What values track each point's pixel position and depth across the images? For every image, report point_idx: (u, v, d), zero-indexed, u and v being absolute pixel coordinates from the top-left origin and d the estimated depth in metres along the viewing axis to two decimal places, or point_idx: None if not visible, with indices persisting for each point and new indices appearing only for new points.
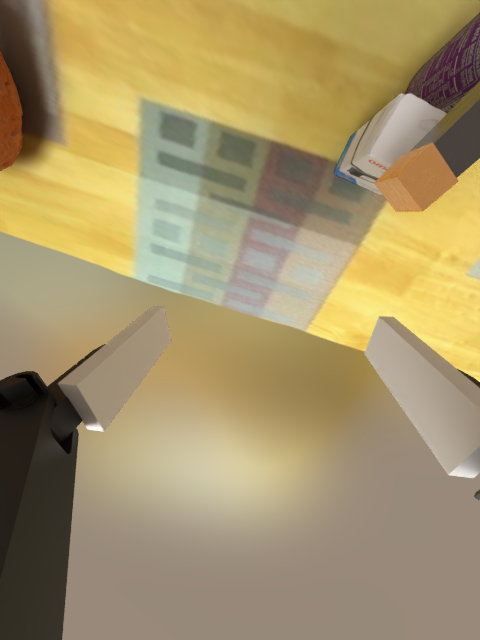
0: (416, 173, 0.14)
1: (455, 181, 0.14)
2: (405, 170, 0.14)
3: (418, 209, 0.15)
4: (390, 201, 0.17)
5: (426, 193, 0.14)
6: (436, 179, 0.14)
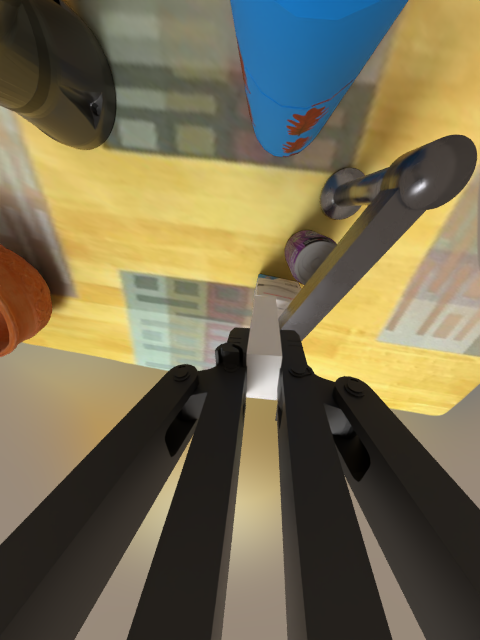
0: None
1: None
2: None
3: None
4: None
5: None
6: None
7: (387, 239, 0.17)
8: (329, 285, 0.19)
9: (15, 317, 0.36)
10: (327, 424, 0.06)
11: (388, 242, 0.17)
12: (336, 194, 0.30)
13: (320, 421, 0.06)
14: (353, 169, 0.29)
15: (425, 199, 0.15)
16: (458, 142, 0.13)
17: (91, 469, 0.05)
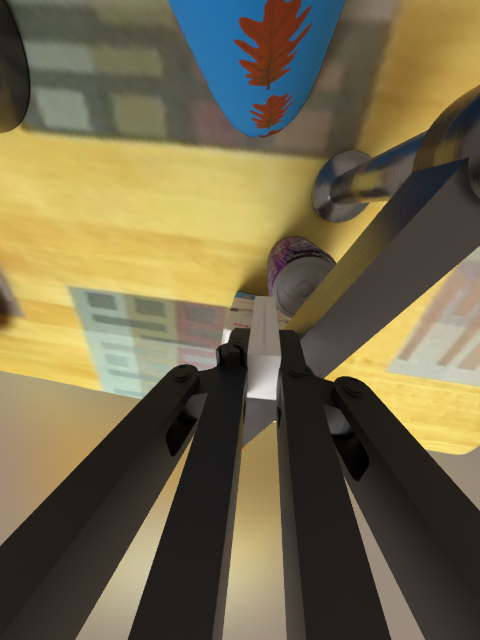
0: None
1: (242, 450, 0.17)
2: None
3: None
4: None
5: None
6: None
7: (430, 267, 0.08)
8: (318, 343, 0.11)
9: None
10: (326, 424, 0.06)
11: (431, 274, 0.09)
12: (333, 187, 0.22)
13: (319, 421, 0.06)
14: (357, 152, 0.21)
15: None
16: None
17: (92, 469, 0.05)
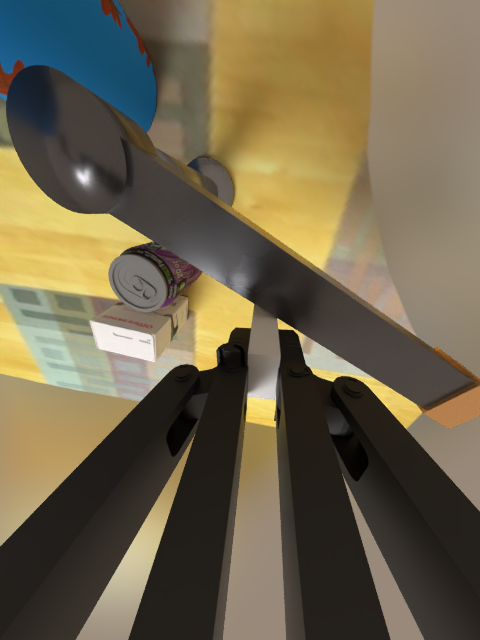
0: (452, 417, 0.12)
1: None
2: (444, 424, 0.13)
3: None
4: None
5: None
6: (469, 401, 0.11)
7: (182, 203, 0.08)
8: (273, 294, 0.10)
9: None
10: (325, 424, 0.06)
11: (188, 198, 0.08)
12: None
13: (318, 421, 0.06)
14: (207, 159, 0.23)
15: (101, 157, 0.08)
16: (19, 137, 0.08)
17: (93, 469, 0.05)
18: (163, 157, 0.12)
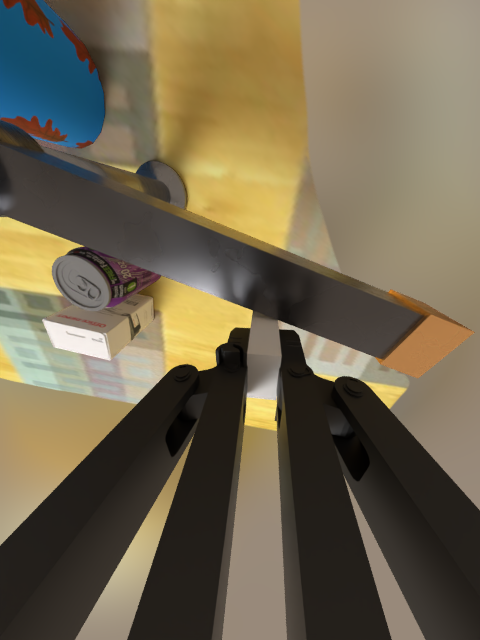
0: (415, 362, 0.10)
1: (431, 317, 0.09)
2: (410, 373, 0.11)
3: None
4: None
5: (444, 340, 0.10)
6: (425, 339, 0.10)
7: (49, 184, 0.09)
8: (169, 259, 0.09)
9: None
10: (326, 424, 0.06)
11: (52, 177, 0.08)
12: None
13: (319, 421, 0.06)
14: (157, 163, 0.23)
15: None
16: None
17: (92, 469, 0.05)
18: (73, 163, 0.13)
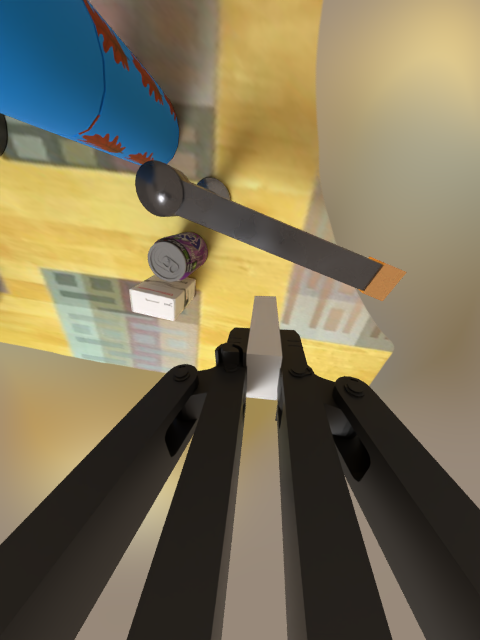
0: (380, 291, 0.20)
1: (385, 265, 0.19)
2: (378, 298, 0.21)
3: None
4: None
5: (393, 277, 0.20)
6: (384, 277, 0.20)
7: (208, 201, 0.18)
8: (258, 237, 0.19)
9: None
10: (327, 424, 0.06)
11: (211, 198, 0.18)
12: None
13: (320, 421, 0.06)
14: (212, 179, 0.33)
15: (173, 189, 0.18)
16: (139, 189, 0.18)
17: (91, 469, 0.05)
18: None
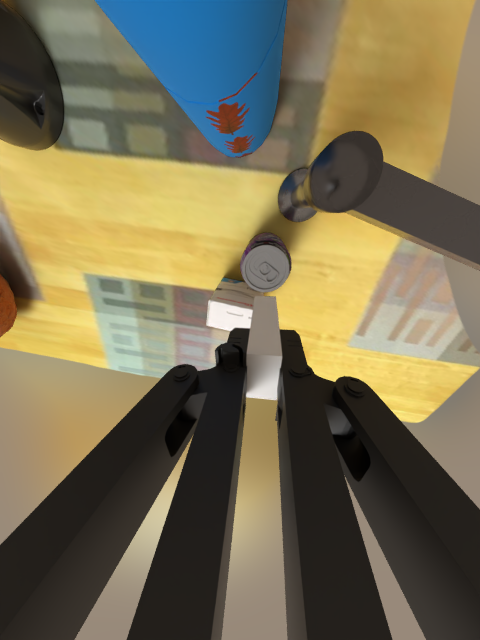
0: None
1: None
2: None
3: None
4: None
5: None
6: None
7: (410, 191, 0.13)
8: (465, 240, 0.14)
9: None
10: (327, 424, 0.06)
11: (416, 187, 0.13)
12: (291, 195, 0.29)
13: (320, 421, 0.06)
14: None
15: (370, 174, 0.13)
16: (318, 174, 0.13)
17: (91, 469, 0.05)
18: None
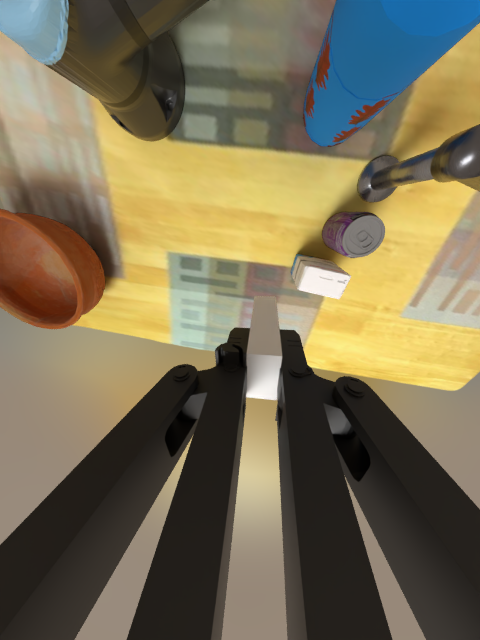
0: None
1: None
2: None
3: None
4: None
5: None
6: None
7: None
8: None
9: (83, 290, 0.40)
10: (327, 424, 0.06)
11: None
12: (374, 178, 0.34)
13: (320, 421, 0.06)
14: (389, 157, 0.34)
15: None
16: (464, 148, 0.19)
17: (91, 469, 0.05)
18: None
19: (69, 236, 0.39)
